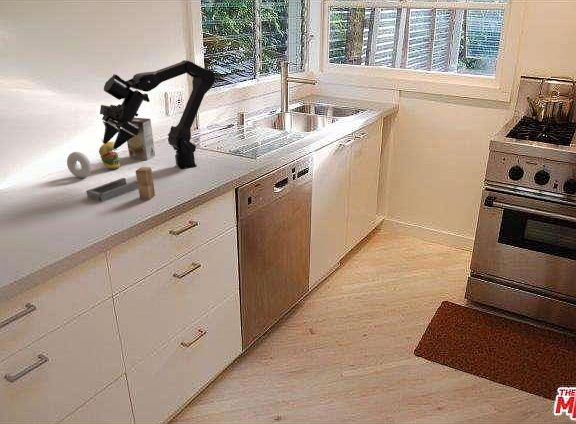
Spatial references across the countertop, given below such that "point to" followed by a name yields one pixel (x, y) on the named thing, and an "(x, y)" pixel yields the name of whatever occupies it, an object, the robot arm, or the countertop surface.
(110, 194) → the grey tray
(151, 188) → the brown wooden block
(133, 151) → the coffee box
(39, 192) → the countertop surface
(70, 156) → the donut
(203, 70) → the robot arm
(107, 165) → the hamburger
